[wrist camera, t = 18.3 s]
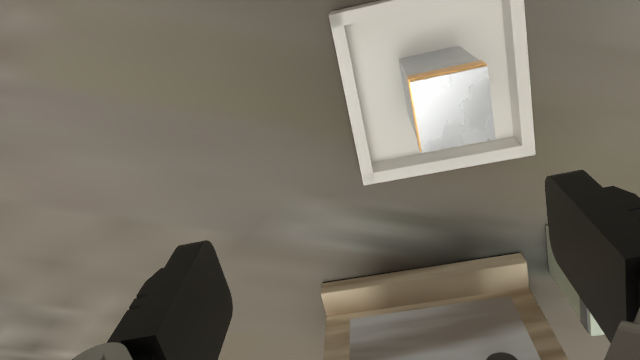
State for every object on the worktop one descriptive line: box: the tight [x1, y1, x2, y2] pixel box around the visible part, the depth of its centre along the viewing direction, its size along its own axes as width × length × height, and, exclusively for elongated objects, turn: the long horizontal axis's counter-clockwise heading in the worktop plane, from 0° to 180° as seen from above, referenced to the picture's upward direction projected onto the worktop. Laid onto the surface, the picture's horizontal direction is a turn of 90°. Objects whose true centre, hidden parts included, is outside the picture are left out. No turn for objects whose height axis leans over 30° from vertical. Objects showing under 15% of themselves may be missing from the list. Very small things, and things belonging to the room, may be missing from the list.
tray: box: [329, 0, 536, 185], centre depth 35 cm, size 12×12×3 cm
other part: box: [546, 226, 604, 336], centre depth 36 cm, size 4×4×8 cm
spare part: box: [399, 46, 496, 153], centre depth 31 cm, size 4×4×8 cm
